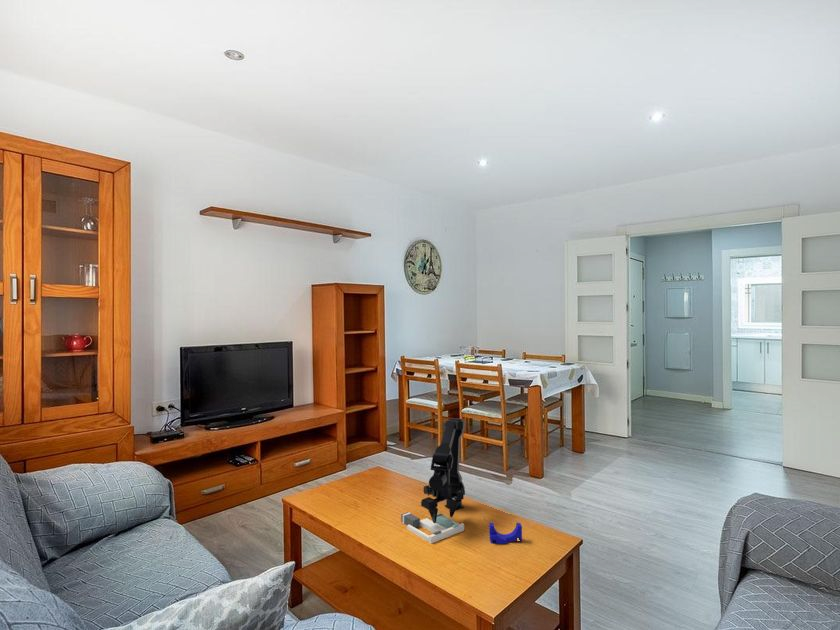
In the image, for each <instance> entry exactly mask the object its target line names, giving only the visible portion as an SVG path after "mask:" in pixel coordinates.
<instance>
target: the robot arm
mask: <svg viewBox="0 0 840 630" xmlns="http://www.w3.org/2000/svg"><path fill="white" fill-rule="evenodd" d="M466 423H467V422H466V421H465V420H464V418H457V417H456V418H455V417H454V418H453V417H450V418H449V419H447V420H445V421H444V430H443V434H442V438H441V441H440V445H439V446H437V447H436V448H435V451H434V453H433V454H432V458H431V463H430V470H431V471H433V474H432V475H431V476H430V478H429V480H428V485H424V486H423V493H424V495H426V496H427V497H425V498H422V499H421V501H420V507H422V508H424V509H426V510H428V513H429V515H430V518H431V521H433V523H436V519H437V514H438V513H439V512H438V511H439V508H438V504H439V503H442V502H445V501H446V502H445V504H444V508H447V509H449V518H453V516H454V514H455V512H456V511H457V510H460V509H463V508H465V506H464V505H463V501H462V500H464V498H465V497H464V496H466V488H465V485H464V482H463V477H462V475H461V473H460V455H461V454H460V453H461V437H463V435H464V433H465V430H466V426H467V425H466ZM430 496H432V497H433V498H432V497H430Z"/></svg>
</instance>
